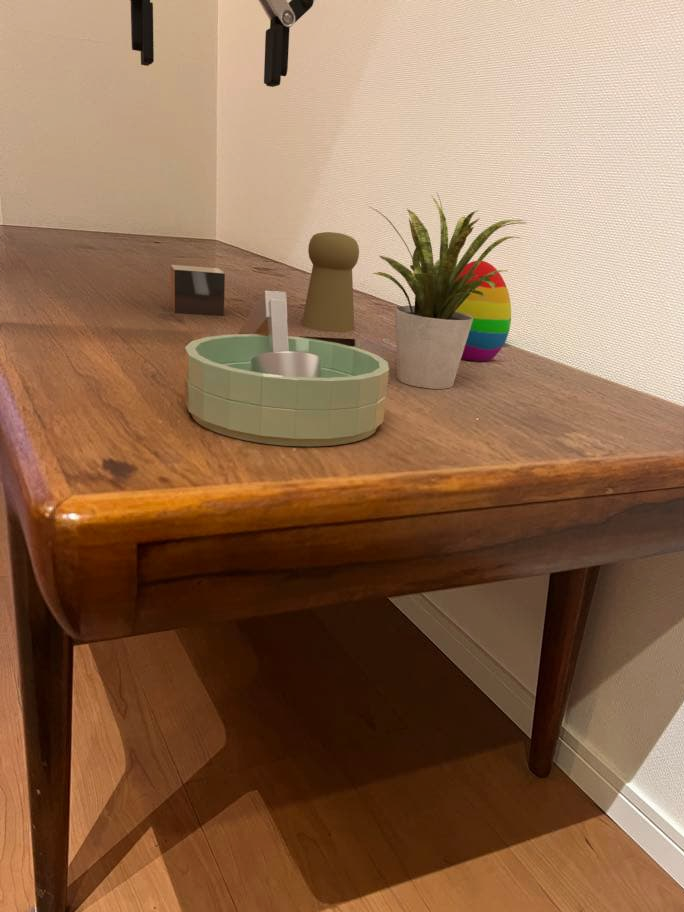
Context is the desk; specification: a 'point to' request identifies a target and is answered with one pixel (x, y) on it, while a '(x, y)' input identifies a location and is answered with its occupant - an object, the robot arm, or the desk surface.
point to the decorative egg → (486, 314)
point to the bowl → (284, 392)
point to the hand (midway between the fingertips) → (211, 74)
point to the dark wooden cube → (197, 290)
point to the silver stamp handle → (278, 340)
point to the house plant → (437, 302)
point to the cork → (331, 285)
